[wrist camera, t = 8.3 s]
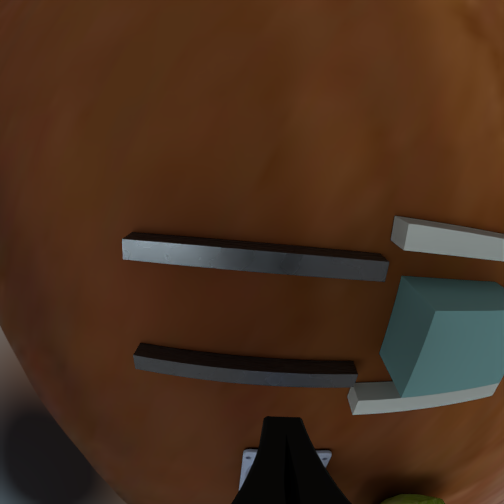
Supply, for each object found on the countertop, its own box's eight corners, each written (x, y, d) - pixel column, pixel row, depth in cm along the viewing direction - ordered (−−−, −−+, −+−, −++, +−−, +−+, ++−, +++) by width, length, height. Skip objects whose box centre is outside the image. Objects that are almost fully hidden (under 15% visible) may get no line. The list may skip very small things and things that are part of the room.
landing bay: (482, 383, 21) (492, 395, 19) (347, 397, 21) (352, 414, 20) (536, 240, 17) (551, 248, 15) (394, 215, 17) (408, 223, 15)
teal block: (469, 347, 20) (499, 382, 16) (378, 351, 20) (400, 397, 16) (494, 280, 18) (532, 309, 14) (400, 274, 19) (435, 310, 14)
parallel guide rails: (349, 373, 21) (353, 387, 19) (142, 356, 21) (135, 368, 19) (380, 253, 18) (389, 262, 16) (132, 232, 18) (122, 238, 17)
